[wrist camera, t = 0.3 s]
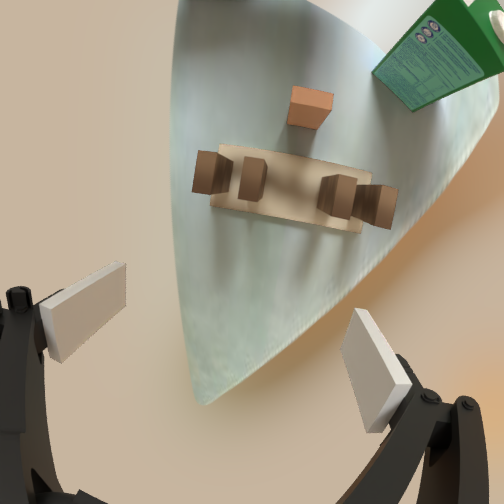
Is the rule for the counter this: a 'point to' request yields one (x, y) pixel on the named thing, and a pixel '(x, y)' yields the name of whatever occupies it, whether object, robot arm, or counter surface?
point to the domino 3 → (337, 195)
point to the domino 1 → (212, 173)
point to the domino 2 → (252, 179)
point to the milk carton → (445, 51)
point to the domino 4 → (375, 204)
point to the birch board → (288, 187)
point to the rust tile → (309, 107)
